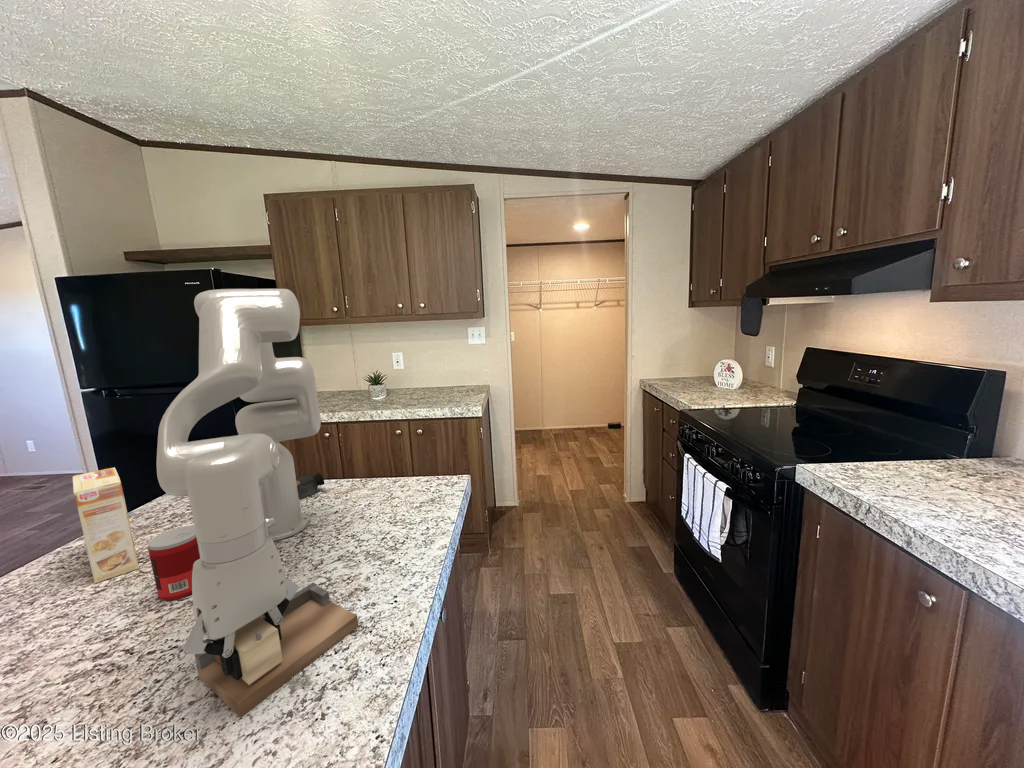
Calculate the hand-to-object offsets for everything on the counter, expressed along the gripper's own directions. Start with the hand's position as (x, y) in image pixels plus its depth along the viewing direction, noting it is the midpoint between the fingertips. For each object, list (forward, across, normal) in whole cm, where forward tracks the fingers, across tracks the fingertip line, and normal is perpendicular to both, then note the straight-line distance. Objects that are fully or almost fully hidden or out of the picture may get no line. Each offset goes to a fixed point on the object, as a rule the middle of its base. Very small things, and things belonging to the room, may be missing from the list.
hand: (254, 659), depth 58 cm
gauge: (+1, 0, -2) cm, 2 cm away
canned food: (+3, -4, -35) cm, 35 cm away
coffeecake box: (+3, 0, -60) cm, 60 cm away
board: (+3, -5, -2) cm, 6 cm away
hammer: (+3, -36, -56) cm, 66 cm away
